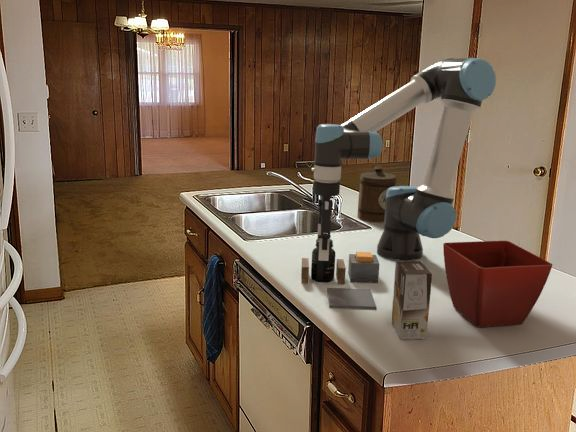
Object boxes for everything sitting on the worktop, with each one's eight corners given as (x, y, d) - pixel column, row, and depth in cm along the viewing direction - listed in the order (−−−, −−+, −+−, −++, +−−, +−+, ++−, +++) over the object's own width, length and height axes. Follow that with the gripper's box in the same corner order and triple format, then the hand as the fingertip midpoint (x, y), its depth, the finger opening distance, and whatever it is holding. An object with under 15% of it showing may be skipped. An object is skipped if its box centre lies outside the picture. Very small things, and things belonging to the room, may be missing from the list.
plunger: (369, 271, 167) (370, 252, 165) (371, 276, 163) (372, 256, 161) (354, 270, 167) (356, 251, 165) (356, 276, 163) (357, 256, 161)
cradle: (342, 275, 167) (343, 259, 166) (344, 284, 159) (345, 268, 158) (301, 273, 167) (301, 257, 166) (301, 283, 160) (301, 267, 158)
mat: (370, 291, 155) (370, 289, 155) (376, 308, 144) (376, 306, 144) (327, 289, 156) (327, 287, 155) (329, 307, 144) (329, 305, 144)
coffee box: (427, 339, 128) (433, 274, 124) (400, 340, 127) (405, 274, 123) (415, 322, 137) (421, 260, 133) (389, 322, 136) (394, 260, 132)
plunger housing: (374, 273, 169) (375, 254, 167) (378, 283, 161) (379, 263, 160) (348, 272, 169) (349, 254, 168) (350, 282, 161) (351, 263, 160)
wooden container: (387, 224, 224) (391, 170, 219) (352, 219, 230) (355, 166, 225) (397, 216, 237) (401, 165, 232) (363, 211, 243) (366, 161, 238)
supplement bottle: (332, 284, 159) (334, 244, 156) (309, 282, 161) (310, 242, 158) (335, 276, 166) (337, 237, 163) (312, 274, 167) (314, 235, 164)
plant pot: (544, 330, 135) (555, 264, 130) (472, 335, 131) (481, 268, 126) (499, 298, 153) (507, 239, 148) (435, 303, 149) (441, 242, 144)
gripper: (312, 172, 168) (308, 239, 173) (314, 188, 144) (310, 266, 149) (337, 173, 168) (332, 240, 173) (343, 189, 144) (338, 267, 149)
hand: (322, 252), depth 161 cm, fingers open, 13 cm apart
